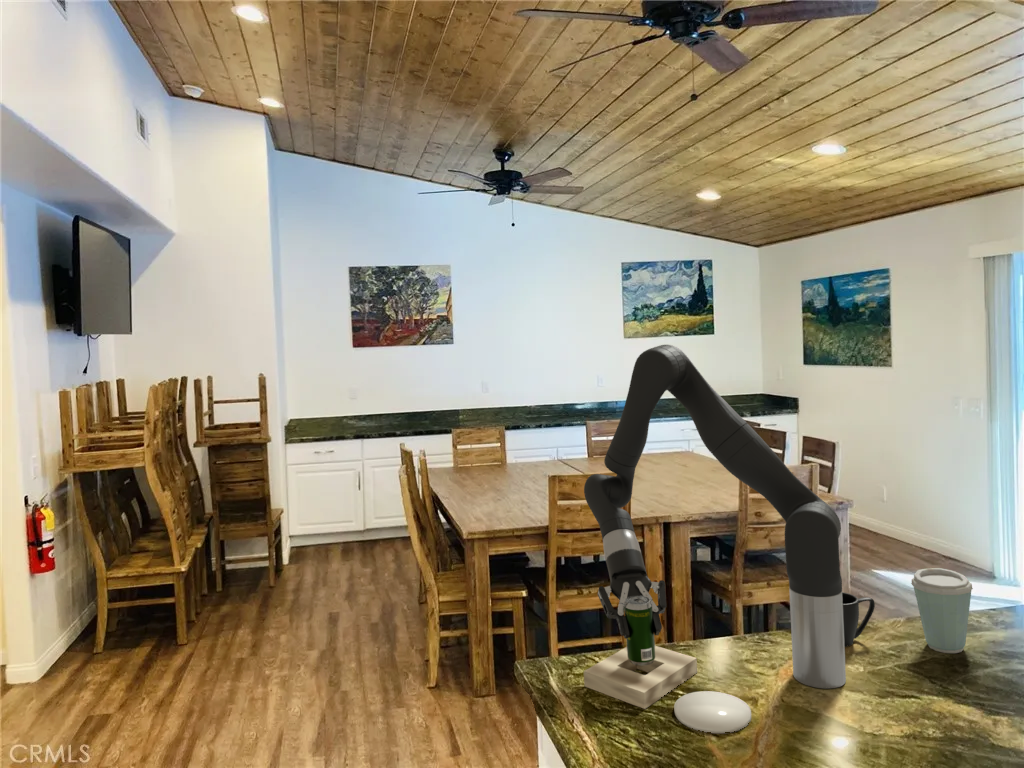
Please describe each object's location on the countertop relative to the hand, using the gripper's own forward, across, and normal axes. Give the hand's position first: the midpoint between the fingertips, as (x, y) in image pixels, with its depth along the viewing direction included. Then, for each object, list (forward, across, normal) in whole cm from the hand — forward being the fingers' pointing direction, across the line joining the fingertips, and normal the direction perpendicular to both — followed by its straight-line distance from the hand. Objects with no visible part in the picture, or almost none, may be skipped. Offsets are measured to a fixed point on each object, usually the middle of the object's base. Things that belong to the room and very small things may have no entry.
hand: (642, 634), depth 136 cm
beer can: (+3, 0, +6) cm, 6 cm away
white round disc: (+16, +8, -2) cm, 18 cm away
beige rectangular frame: (+6, 0, +8) cm, 10 cm away
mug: (0, +46, +14) cm, 49 cm away
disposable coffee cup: (+5, +63, +9) cm, 64 cm away
